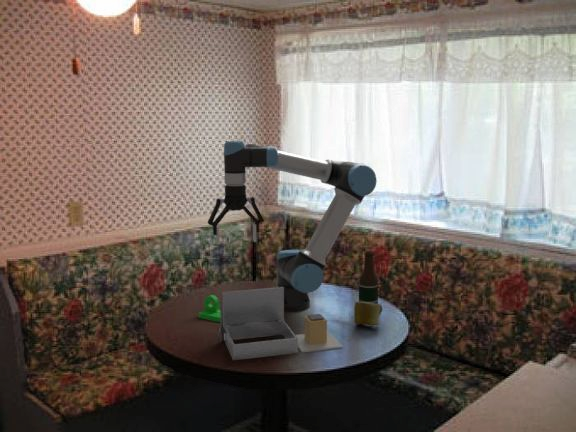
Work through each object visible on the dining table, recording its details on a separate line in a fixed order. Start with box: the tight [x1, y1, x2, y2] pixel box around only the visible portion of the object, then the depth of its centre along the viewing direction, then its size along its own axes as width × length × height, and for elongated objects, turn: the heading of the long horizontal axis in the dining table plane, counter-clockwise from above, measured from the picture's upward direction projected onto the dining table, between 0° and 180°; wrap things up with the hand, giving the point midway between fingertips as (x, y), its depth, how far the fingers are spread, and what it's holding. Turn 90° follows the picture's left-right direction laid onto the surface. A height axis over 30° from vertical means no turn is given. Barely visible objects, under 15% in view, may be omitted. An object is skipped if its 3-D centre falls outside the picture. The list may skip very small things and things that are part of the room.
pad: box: [295, 330, 343, 354], centre depth 196 cm, size 14×14×1 cm
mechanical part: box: [197, 294, 221, 323], centre depth 220 cm, size 12×6×8 cm, turn 61°
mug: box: [353, 301, 383, 327], centre depth 211 cm, size 12×10×10 cm
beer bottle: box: [358, 250, 379, 304], centre depth 226 cm, size 8×8×24 cm
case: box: [218, 286, 299, 361], centre depth 192 cm, size 23×18×17 cm
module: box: [304, 313, 328, 345], centre depth 196 cm, size 6×6×9 cm
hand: (236, 242), depth 210 cm, fingers open, 13 cm apart
